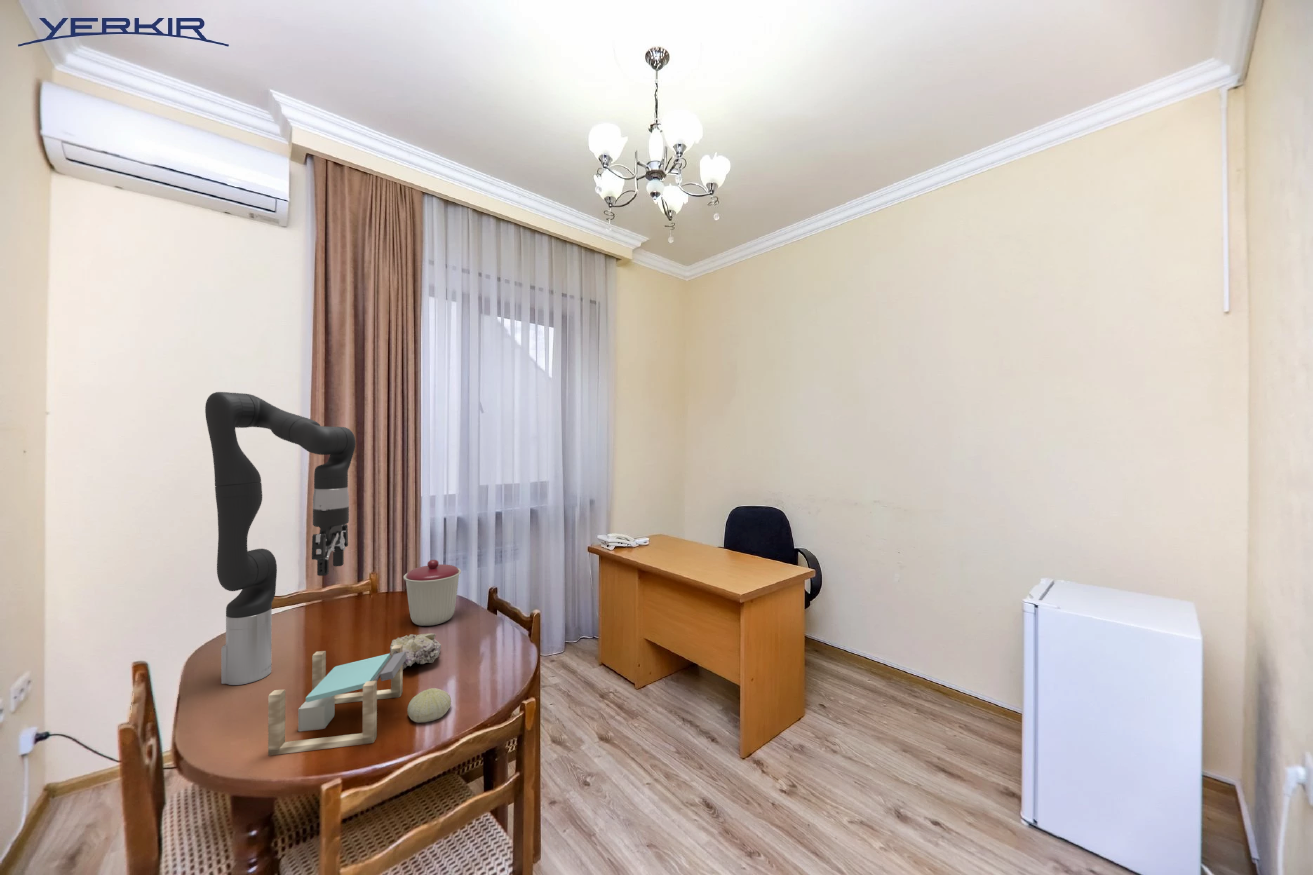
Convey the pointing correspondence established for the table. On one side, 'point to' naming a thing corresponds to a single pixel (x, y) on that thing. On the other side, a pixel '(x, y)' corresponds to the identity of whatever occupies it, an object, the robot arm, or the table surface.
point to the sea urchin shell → (429, 705)
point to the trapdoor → (356, 675)
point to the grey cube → (316, 714)
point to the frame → (367, 696)
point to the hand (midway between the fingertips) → (330, 570)
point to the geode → (418, 648)
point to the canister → (432, 593)
